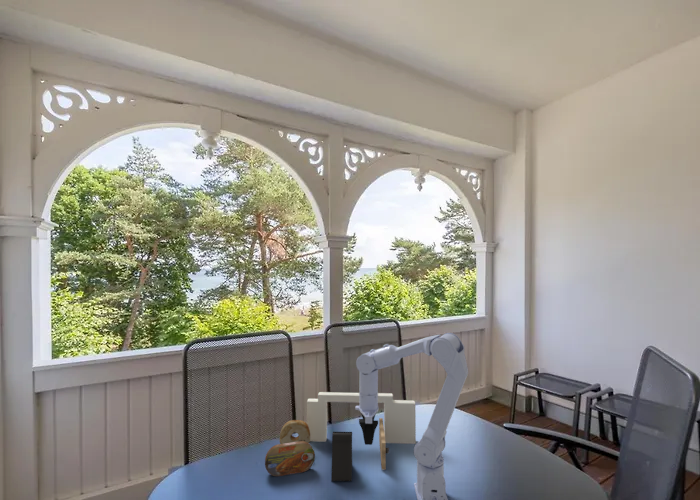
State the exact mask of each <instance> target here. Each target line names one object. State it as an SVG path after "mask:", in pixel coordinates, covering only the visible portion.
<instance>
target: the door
mask: <svg viewBox="0 0 700 500" xmlns="http://www.w3.org/2000/svg"><path fill="white" fill-rule="evenodd" d="M383 419H384V418H383V417H379V420H378V425H379V426H378V427H379V428H378V431H379V432H378V434H379V435H378V436H379V437H378V439H379V440H378V441H379V453H380V454H379V455H380V462H381V463H380V465H381V471H385V470H386V469H387V467H386V465H387V463H386V460H387V459H386V454H390V447H387V446H386V445H387V443H386V442H385V434H384V420H383Z"/></svg>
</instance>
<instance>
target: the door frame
mask: <svg viewBox="0 0 700 500" xmlns="http://www.w3.org/2000/svg"><path fill="white" fill-rule="evenodd" d="M328 403H359V392H341V391H340V392H335V391H334V392H333V391H332V392H330V391H319V392H318V394H317V398H307V400H306V423H307V424H308V427H309V430H310V442H319V443H321V442H325V443H326V442H327V438H328V437H327V436H328V429H327V428H328ZM378 404H383V417H384V418H383V419H384V420H383V426H384V434H385V442H386V444H404V445H405V444H406V445H407V444H411V445H412V444H413V445H414V444H415V445H416V444H417V439H416V435H417V434H416V433H417V431H416V430H417V429H416V428H417V427H416V419H417V418H416V401H415V400H412V399H411V400H410V399H409V400H406V399H405V400H404V399H394V394H393V393H391V392H390V393H389V392H388V393H387V392H378Z"/></svg>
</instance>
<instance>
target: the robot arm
mask: <svg viewBox="0 0 700 500" xmlns="http://www.w3.org/2000/svg"><path fill="white" fill-rule="evenodd" d="M421 353H422V354H425V355H427V356H429V357H430V356H432V357H433V358H434V359H435V360H436V361H437V362H438V363H439V364H440V365H441V366H442V367H443V369H444V371H445V373H446V377H445V380H444V382H443V385H442V388H441V391H440V393H439V395H438V398H437V400H436V404H435V406H434V410H433V412H432V415H431V417H430V420H429V422H428V425H427V427H426V429H425V431H424V432H423V435H422V436H421V439H419V441H418V442H416V444H415V445H414V447H413V455H414V457H415V460H416V482H414V483H413V487H414V490H415V491H414V492H415V495H416V498H417V500H449V499H448V496H447V493H446V479H445V475H444V473H445V472H444V471H445V470H444V469H445V466H444V465H445V463H444V457H443V456H444V455H443V451H444V450H445V448H446V435H447V429H448V427H449V424H450V421H451V419H452V418H453V417H452V416H453V413H454V411H455V409H456V406H457V403H458V401H459V399H460V396H461V393H462V390H463V388H464V385H465V382H466V380H467V377H468V375H469V369H468V364H467V360H466V354H465V353H466V352H465V345H464V343H463V341H462V340H461V339H460V337H459V336H458V335H457V334H455V333H453V332H446V333H444V334H442V335H441V334H435V335H431V336H430V335H429V336H426V337H424V338H420V339H417V340H415V341H412V342H409V343H407V344H403V345H401V346H399V347H398V346H396V345H394V344H389V343H385V344H384V345H382V347H379V348H377V349H375V348H372V349H370V351H367V352H365V353H362V354H361V355H359V356H358V357H357V359H356V362H355V366H356V369H357V371H358V372H359V374H358V375H359V379H358V380H359V381H358V382H359V386H358V388H359V392H358V393H359V402H358V403H359V405H355V406H354V407H355V411H359V412H360V415H361V418H358V424H359V426H360V428H361V431H362V436H363V441H364V445H367V446H368V445H369V446H371V445H373V442H374V438H375V437H374V436H375V432H376V430H377V427H378V425H379V420H377V419H376V420H375V417H376V415H377V413H378V412H379V403H378V393H379V389H378V388H379V370H382V369H385V368H387V367H388V368H389V367H392V366H396V365H398V364H400V361H401V359H402V358H406V357H410V356H413V355H417V354H421Z"/></svg>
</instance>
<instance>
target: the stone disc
mask: <svg viewBox="0 0 700 500" xmlns="http://www.w3.org/2000/svg"><path fill="white" fill-rule="evenodd" d="M295 433H296V434H297V435H298V436H294V435H293V434H295ZM298 441H305V442H307V443H309V444H310V442H311V441H310V430H309V427H308V424H307V421H305V420H300V419H292V420H288V421H287V422H285V423H284V424H283V426H282V427H281V430H280V433H279V444H284V443H291V442H298Z"/></svg>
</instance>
